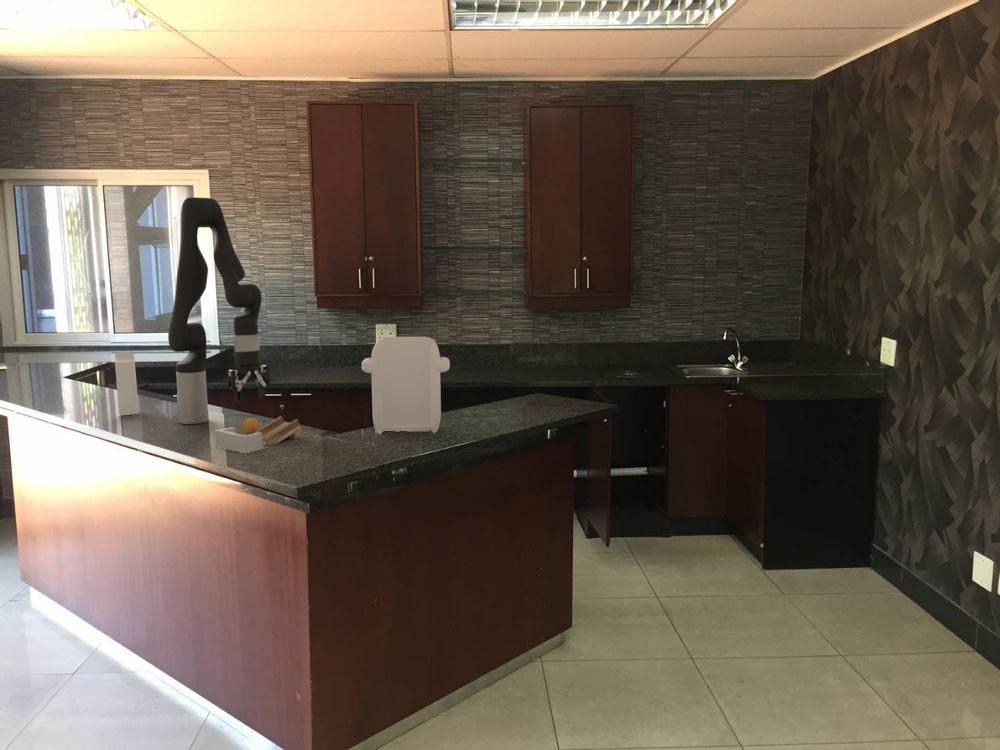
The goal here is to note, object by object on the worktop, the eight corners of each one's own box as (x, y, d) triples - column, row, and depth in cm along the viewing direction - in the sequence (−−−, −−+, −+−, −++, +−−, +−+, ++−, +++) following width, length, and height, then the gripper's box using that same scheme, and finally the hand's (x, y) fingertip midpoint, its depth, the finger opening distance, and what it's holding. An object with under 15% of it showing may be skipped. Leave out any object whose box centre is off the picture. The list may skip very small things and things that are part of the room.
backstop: (215, 447, 244) (214, 430, 243) (233, 443, 248) (232, 426, 248) (245, 454, 235) (244, 436, 235) (262, 449, 240) (261, 432, 239)
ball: (240, 434, 260) (239, 418, 260) (253, 431, 264) (252, 415, 264) (250, 436, 257) (249, 420, 257) (263, 433, 261) (262, 417, 261)
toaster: (451, 426, 271) (449, 334, 266) (450, 434, 259) (448, 338, 255) (367, 427, 270) (364, 335, 265) (362, 435, 259) (359, 339, 254)
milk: (137, 415, 290) (133, 353, 287) (118, 416, 288) (114, 353, 285) (138, 412, 296) (134, 350, 292) (120, 413, 294) (115, 351, 290)
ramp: (249, 445, 250) (248, 423, 249) (283, 437, 260) (282, 415, 259) (266, 449, 245) (265, 426, 244) (301, 440, 255) (300, 419, 254)
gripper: (258, 346, 265) (261, 396, 267) (220, 350, 253) (223, 403, 256) (273, 347, 260) (276, 398, 263) (235, 352, 249) (238, 405, 251)
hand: (250, 400), depth 259 cm, fingers open, 8 cm apart
